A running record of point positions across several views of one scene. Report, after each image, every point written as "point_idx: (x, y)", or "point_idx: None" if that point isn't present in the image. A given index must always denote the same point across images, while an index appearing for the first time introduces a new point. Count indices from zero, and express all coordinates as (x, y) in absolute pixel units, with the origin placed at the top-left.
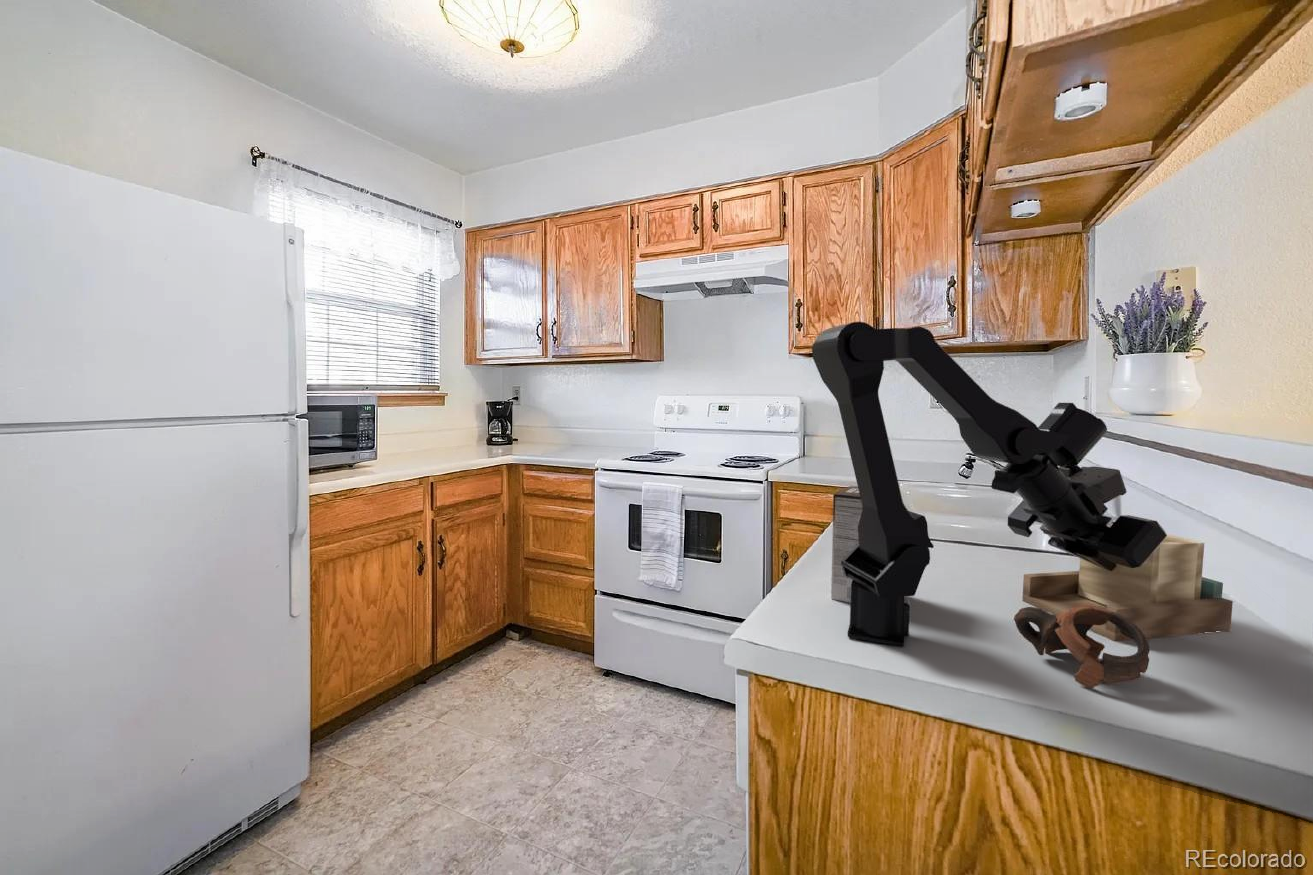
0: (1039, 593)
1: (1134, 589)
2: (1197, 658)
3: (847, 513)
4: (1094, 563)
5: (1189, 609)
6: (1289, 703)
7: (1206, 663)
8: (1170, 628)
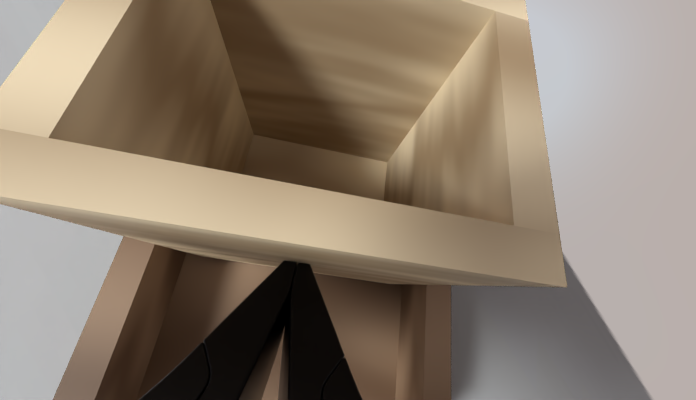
0: (134, 390)
1: (370, 277)
2: (497, 342)
3: None
4: (269, 374)
5: None
6: (634, 391)
7: (515, 351)
8: None
